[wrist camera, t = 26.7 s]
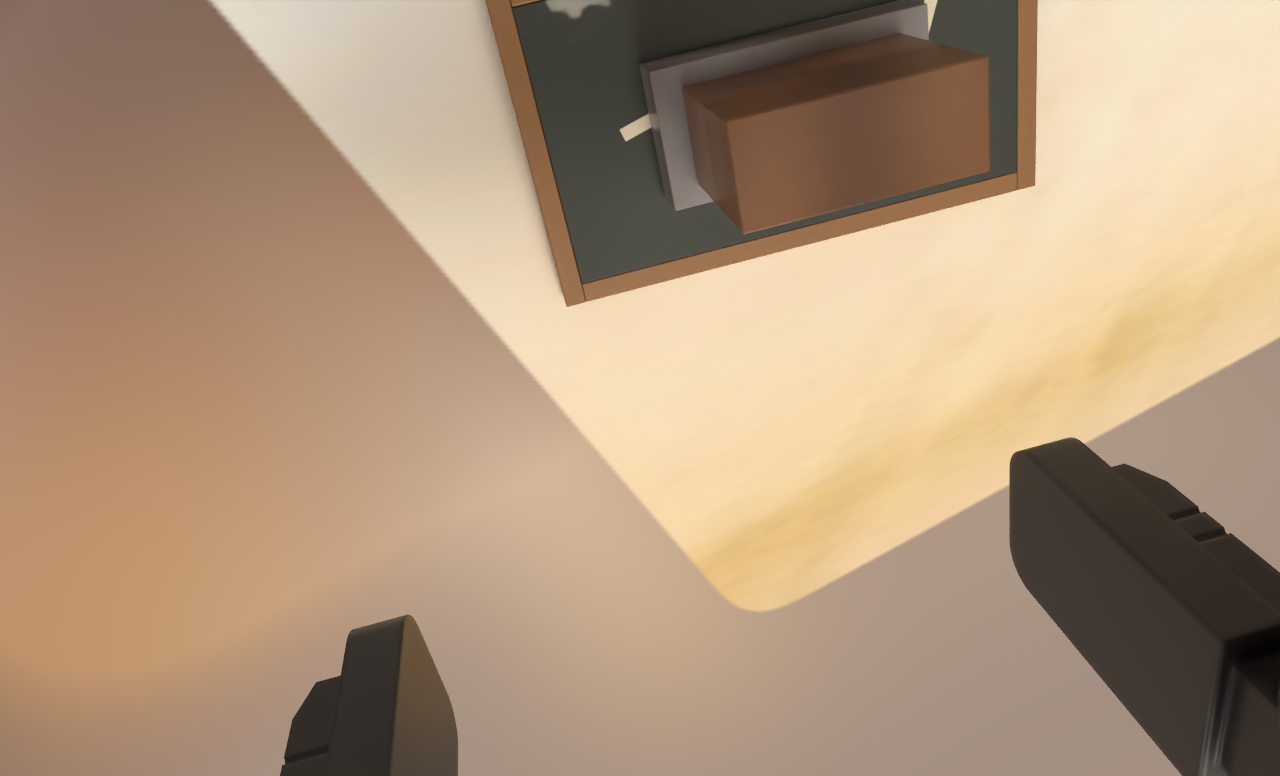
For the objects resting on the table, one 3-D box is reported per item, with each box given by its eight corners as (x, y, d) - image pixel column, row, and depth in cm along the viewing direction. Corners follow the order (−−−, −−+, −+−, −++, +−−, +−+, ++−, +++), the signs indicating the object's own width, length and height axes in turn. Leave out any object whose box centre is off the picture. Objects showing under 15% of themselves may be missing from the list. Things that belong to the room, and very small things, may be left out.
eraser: (664, 196, 35) (715, 266, 28) (638, 63, 32) (687, 102, 25) (910, 134, 35) (1021, 187, 28) (903, -2, 33) (1022, 19, 26)
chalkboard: (481, -15, 31) (482, -12, 30) (1021, -143, 33) (1040, -145, 32) (563, 296, 37) (566, 307, 36) (1019, 178, 38) (1036, 186, 37)
